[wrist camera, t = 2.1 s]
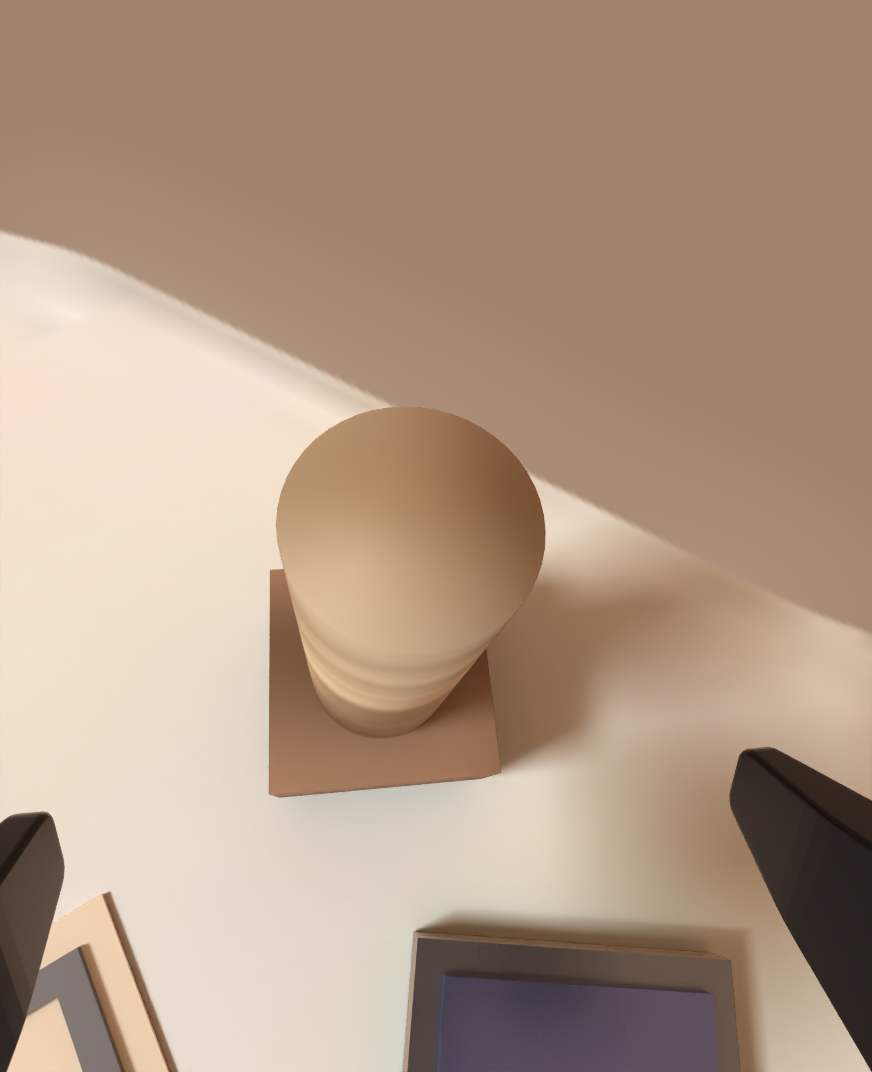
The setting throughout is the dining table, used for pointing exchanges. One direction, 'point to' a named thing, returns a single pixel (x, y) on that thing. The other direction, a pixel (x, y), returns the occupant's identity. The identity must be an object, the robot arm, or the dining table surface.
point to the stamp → (394, 601)
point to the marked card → (86, 1003)
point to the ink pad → (566, 1007)
